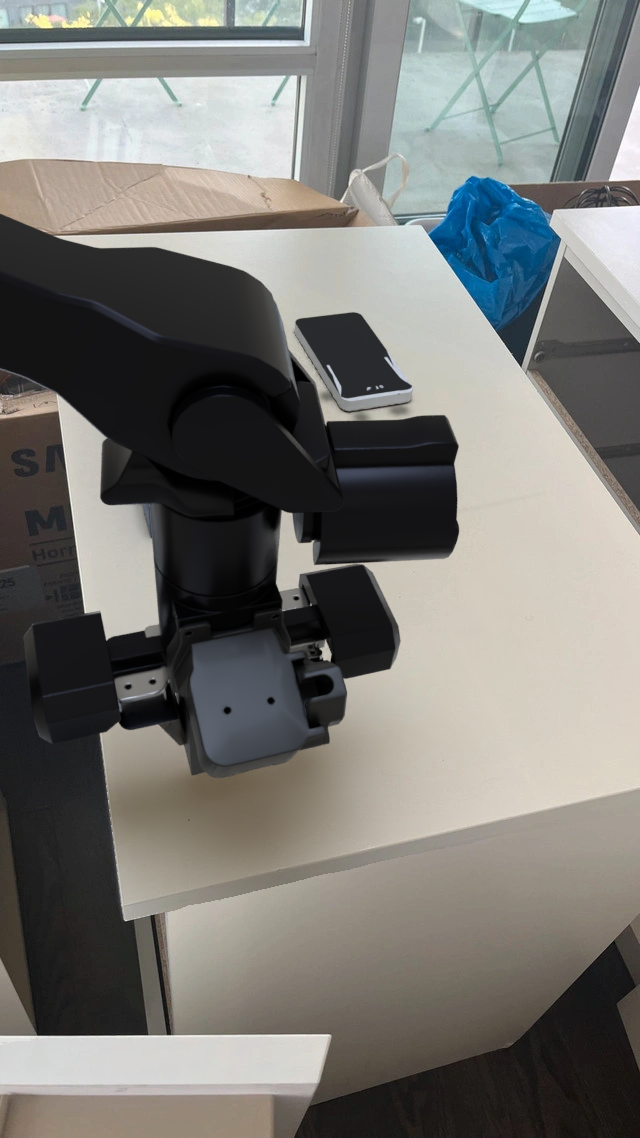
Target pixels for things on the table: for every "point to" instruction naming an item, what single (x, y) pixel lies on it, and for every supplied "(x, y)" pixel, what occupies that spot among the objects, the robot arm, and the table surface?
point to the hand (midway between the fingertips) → (216, 730)
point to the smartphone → (352, 361)
